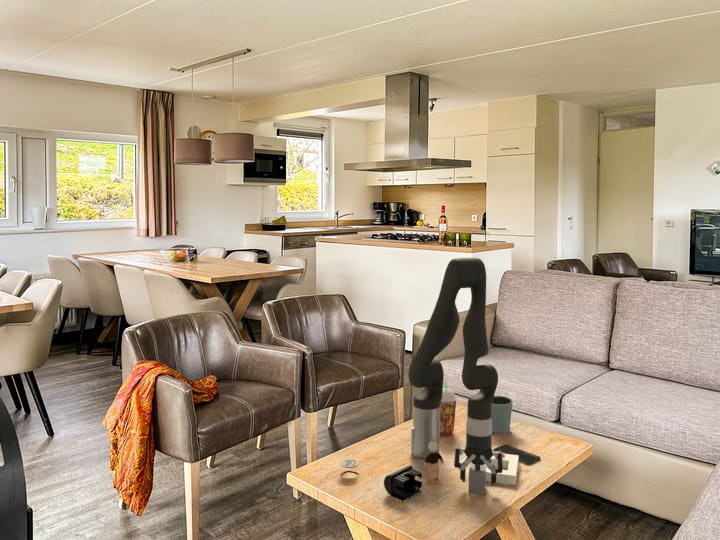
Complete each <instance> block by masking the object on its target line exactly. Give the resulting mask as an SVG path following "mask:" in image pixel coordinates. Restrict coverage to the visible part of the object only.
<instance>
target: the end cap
mask: <svg viewBox="0 0 720 540" xmlns="http://www.w3.org/2000/svg"><path fill="white" fill-rule="evenodd" d="M416 477H418V478H419V479H422V478H423V473H422V472H420V471H418V470H416V469H414V465H412V464H411V465H410V464H409V465H406V466H404V467H403V468H400V469H398V470H396V471H394V472H392V473H390V474H388V475H386V476H385V477H384V480H383V486H384V489H385V491H386V493H387V494H389V495H391V496H390V497H392V496H393V497H395V498H394V499H396V498H397V499H396V500H398V499H399V500H398V501H400V500H401V502H405V501H406V500H408V499H410V498H412V497H414V496H415V494H416V495H417V493H418V494H419V493H421V492H422V489H421V488H423V482H422V481H421V480H418V479H416ZM411 496H412V497H411ZM393 497H392V498H393ZM407 498H408V499H407ZM404 500H405V501H404Z"/></svg>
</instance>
